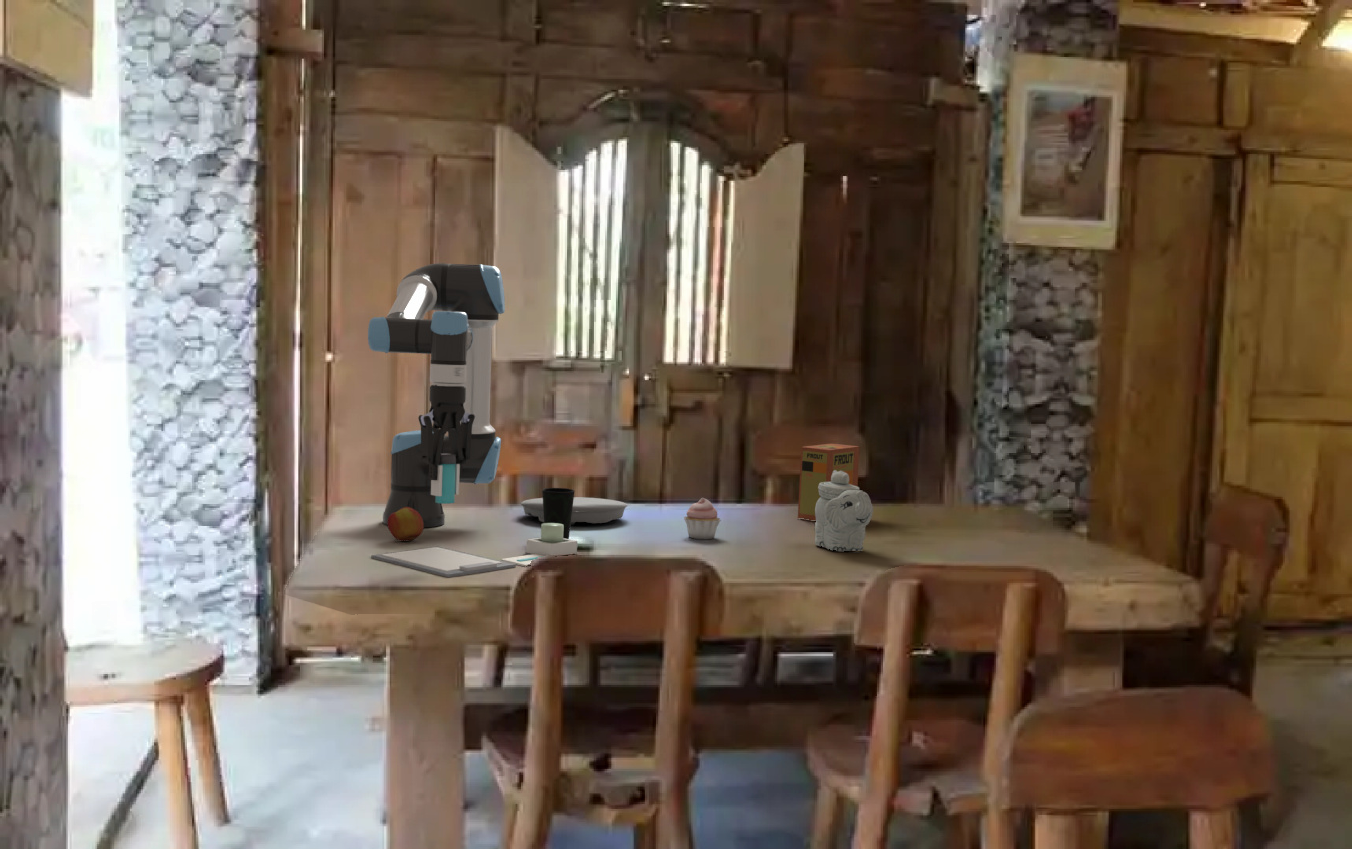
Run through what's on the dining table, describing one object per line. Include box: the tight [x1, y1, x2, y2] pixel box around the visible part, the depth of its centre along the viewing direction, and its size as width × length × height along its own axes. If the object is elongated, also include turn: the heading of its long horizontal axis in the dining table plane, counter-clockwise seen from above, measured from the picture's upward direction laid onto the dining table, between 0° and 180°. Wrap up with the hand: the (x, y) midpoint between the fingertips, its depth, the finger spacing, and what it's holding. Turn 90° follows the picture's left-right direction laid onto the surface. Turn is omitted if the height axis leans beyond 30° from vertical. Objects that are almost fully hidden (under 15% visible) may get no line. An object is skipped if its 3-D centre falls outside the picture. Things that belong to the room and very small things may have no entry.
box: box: [797, 443, 860, 520], centre depth 368 cm, size 17×9×20 cm, turn 144°
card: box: [500, 554, 544, 567], centre depth 289 cm, size 8×10×1 cm
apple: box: [387, 507, 424, 542], centre depth 306 cm, size 8×8×8 cm
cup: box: [541, 487, 575, 539], centre depth 316 cm, size 8×8×12 cm
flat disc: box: [520, 496, 629, 526], centre depth 348 cm, size 28×28×4 cm
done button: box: [540, 522, 564, 543], centre depth 298 cm, size 5×5×4 cm
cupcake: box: [683, 497, 722, 540], centre depth 328 cm, size 9×9×10 cm
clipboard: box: [370, 545, 517, 578], centre depth 283 cm, size 26×18×1 cm
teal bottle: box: [435, 454, 456, 504], centre depth 282 cm, size 4×4×10 cm
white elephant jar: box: [814, 470, 874, 552], centre depth 319 cm, size 16×15×19 cm
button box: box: [525, 537, 578, 556], centre depth 299 cm, size 8×8×3 cm
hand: (444, 494), depth 282 cm, fingers closed on teal bottle, 4 cm apart
